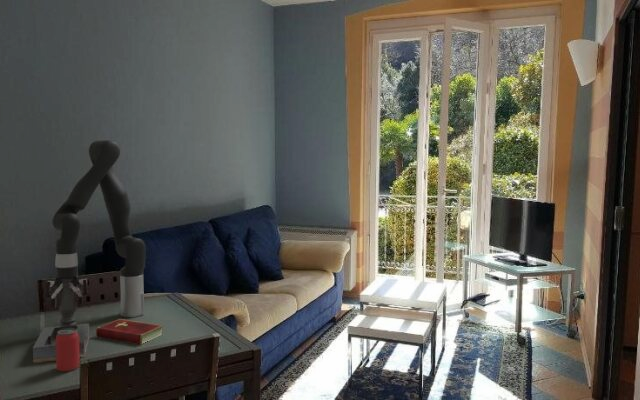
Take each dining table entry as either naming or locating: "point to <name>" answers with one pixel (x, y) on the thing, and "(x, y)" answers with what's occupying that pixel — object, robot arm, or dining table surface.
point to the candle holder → (67, 304)
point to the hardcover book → (129, 331)
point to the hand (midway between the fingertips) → (67, 306)
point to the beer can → (67, 350)
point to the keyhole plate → (47, 342)
